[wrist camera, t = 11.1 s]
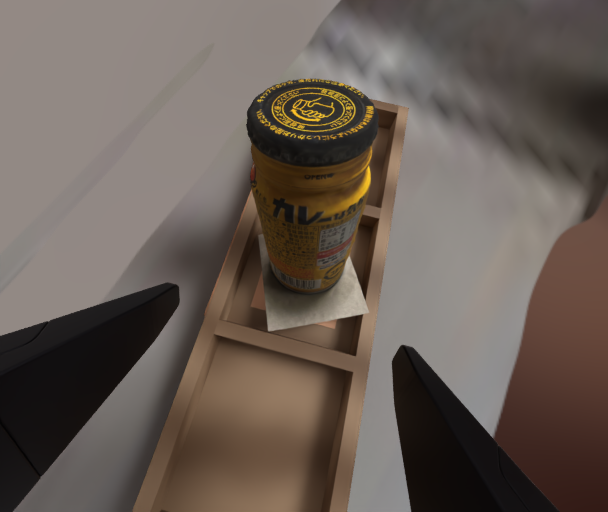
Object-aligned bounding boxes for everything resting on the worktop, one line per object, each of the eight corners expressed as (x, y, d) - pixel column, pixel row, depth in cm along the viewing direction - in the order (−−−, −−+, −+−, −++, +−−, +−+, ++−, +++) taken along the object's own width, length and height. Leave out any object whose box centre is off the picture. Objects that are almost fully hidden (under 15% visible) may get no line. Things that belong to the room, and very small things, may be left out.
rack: (323, 565, 15) (330, 621, 12) (146, 511, 15) (112, 553, 13) (396, 132, 26) (408, 107, 23) (291, 107, 26) (291, 80, 24)
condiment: (338, 224, 21) (369, 61, 11) (368, 313, 17) (468, 183, 7) (258, 236, 20) (211, 75, 10) (268, 332, 16) (205, 221, 6)
